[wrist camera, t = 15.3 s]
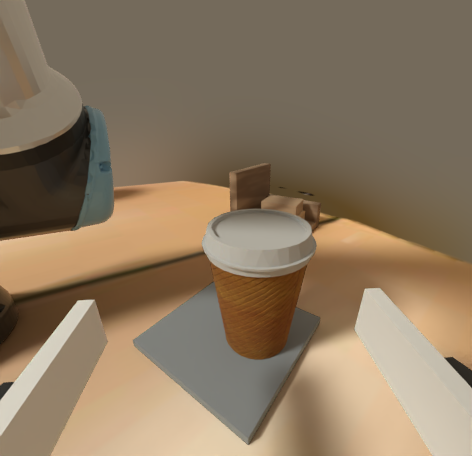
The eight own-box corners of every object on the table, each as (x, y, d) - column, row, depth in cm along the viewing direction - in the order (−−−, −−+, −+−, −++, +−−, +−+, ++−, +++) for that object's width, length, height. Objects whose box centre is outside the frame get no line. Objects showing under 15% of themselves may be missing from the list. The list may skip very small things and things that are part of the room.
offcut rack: (231, 230, 51) (229, 172, 46) (263, 213, 60) (265, 163, 56) (291, 248, 43) (297, 181, 39) (318, 225, 53) (325, 168, 48)
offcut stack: (255, 223, 51) (256, 200, 49) (270, 215, 56) (271, 193, 54) (291, 232, 47) (293, 207, 45) (304, 222, 51) (306, 199, 49)
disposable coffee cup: (202, 311, 28) (193, 213, 23) (278, 295, 31) (283, 203, 26) (222, 391, 20) (214, 263, 15) (324, 359, 22) (345, 241, 18)
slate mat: (134, 346, 25) (132, 340, 25) (222, 279, 35) (222, 275, 35) (248, 444, 17) (248, 438, 17) (319, 323, 27) (320, 317, 27)
